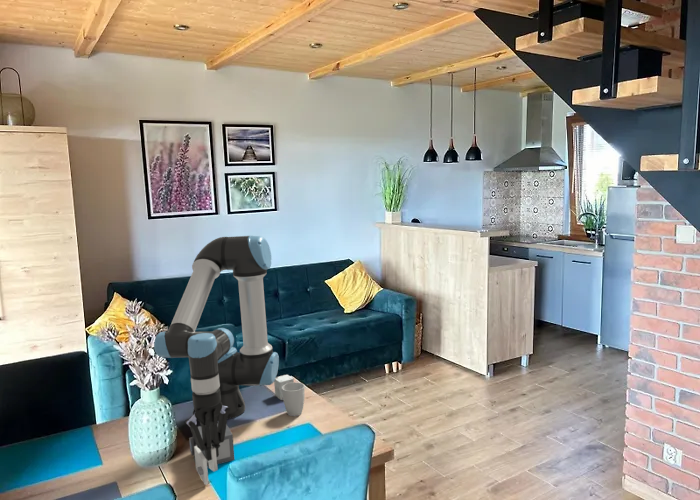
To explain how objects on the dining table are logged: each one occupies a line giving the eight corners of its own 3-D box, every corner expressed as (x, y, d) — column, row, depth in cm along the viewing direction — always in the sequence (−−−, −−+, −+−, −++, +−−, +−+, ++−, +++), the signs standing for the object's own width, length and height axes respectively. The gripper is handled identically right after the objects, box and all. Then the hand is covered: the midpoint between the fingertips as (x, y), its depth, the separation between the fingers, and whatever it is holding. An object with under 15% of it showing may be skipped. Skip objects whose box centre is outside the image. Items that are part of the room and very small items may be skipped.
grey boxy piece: (189, 453, 161) (187, 426, 160) (226, 444, 166) (224, 418, 165) (195, 470, 151) (193, 441, 150) (234, 459, 156) (232, 432, 155)
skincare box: (295, 396, 202) (294, 378, 201) (280, 400, 199) (279, 382, 198) (288, 391, 207) (287, 374, 207) (274, 395, 204) (273, 377, 204)
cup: (309, 409, 190) (308, 383, 188) (300, 419, 182) (298, 391, 181) (289, 407, 192) (287, 381, 191) (279, 416, 185) (277, 389, 184)
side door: (199, 466, 152) (197, 443, 151) (209, 483, 143) (207, 459, 142) (191, 469, 151) (189, 445, 150) (201, 486, 142) (199, 461, 141)
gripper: (219, 379, 151) (226, 455, 154) (178, 393, 142) (186, 473, 146) (233, 386, 146) (239, 464, 149) (191, 400, 137) (199, 483, 140)
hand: (213, 468), depth 147 cm, fingers closed
